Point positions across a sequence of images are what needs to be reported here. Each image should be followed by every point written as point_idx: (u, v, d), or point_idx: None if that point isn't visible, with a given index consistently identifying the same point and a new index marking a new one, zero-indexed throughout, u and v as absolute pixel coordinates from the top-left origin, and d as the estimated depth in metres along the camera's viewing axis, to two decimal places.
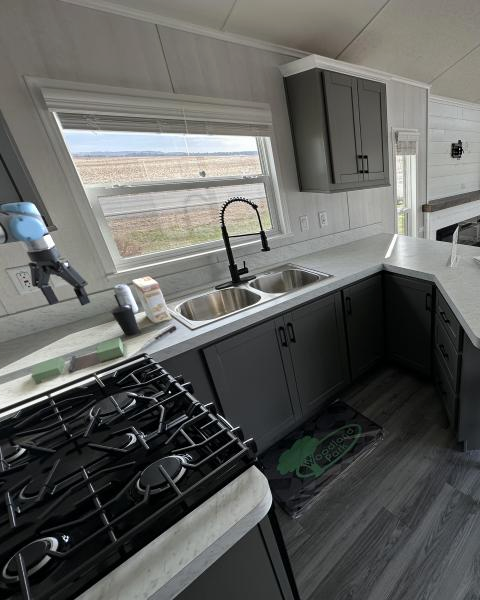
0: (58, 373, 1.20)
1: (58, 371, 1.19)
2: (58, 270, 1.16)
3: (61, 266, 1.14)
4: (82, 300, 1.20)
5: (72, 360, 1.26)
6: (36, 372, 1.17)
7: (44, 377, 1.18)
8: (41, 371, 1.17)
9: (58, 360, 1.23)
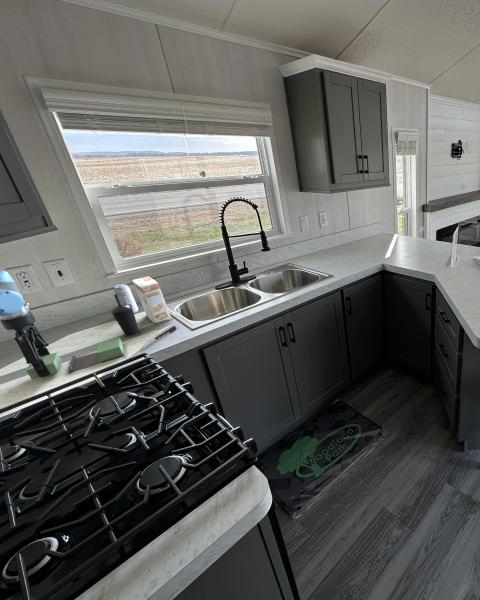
0: (54, 368, 1.18)
1: (54, 366, 1.18)
2: None
3: None
4: (39, 372, 1.16)
5: (72, 360, 1.26)
6: (31, 367, 1.15)
7: None
8: None
9: (54, 355, 1.22)
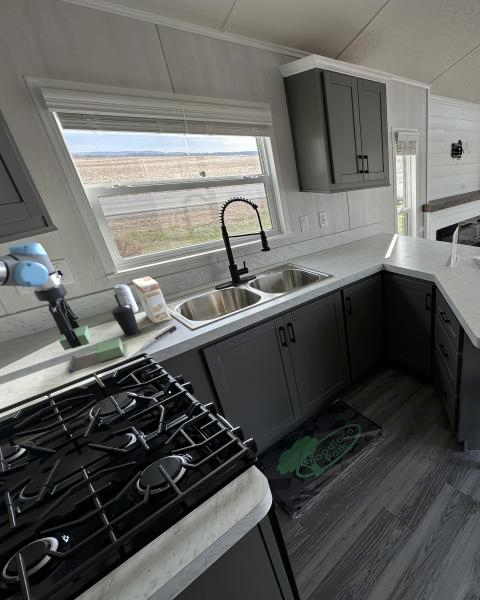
0: (85, 340, 1.21)
1: (85, 338, 1.21)
2: None
3: None
4: (71, 344, 1.19)
5: (72, 360, 1.26)
6: (63, 338, 1.18)
7: None
8: None
9: (84, 328, 1.25)
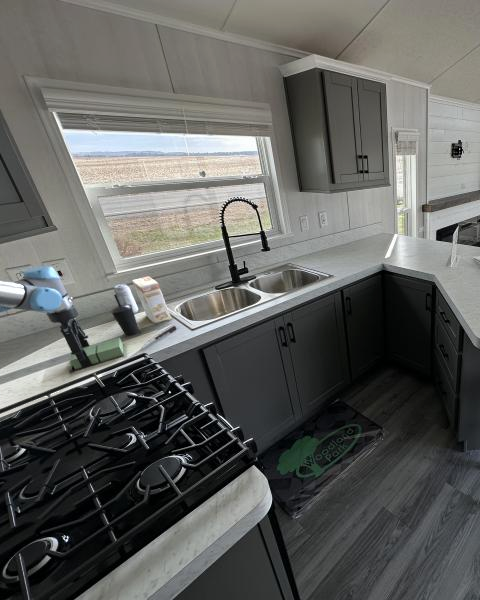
0: (95, 359, 1.25)
1: (95, 357, 1.25)
2: None
3: None
4: (82, 363, 1.22)
5: None
6: (74, 358, 1.22)
7: None
8: None
9: (94, 347, 1.29)
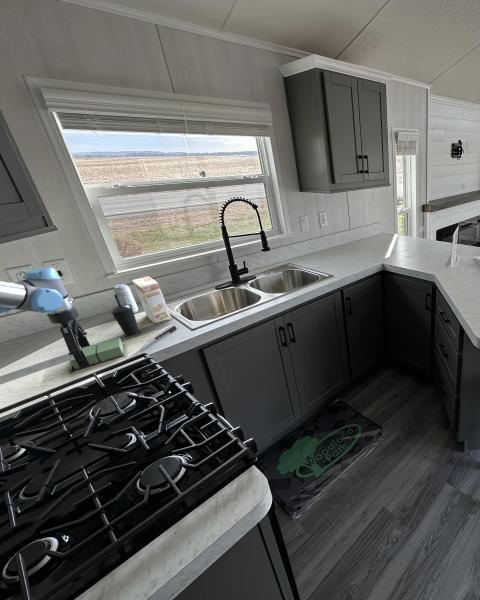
0: (95, 359, 1.25)
1: (95, 357, 1.25)
2: None
3: None
4: (79, 363, 1.20)
5: None
6: (74, 358, 1.22)
7: None
8: None
9: (94, 347, 1.29)
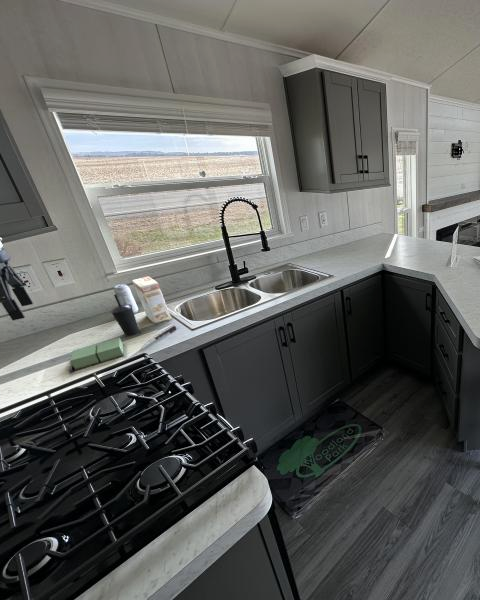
0: (95, 359, 1.25)
1: (95, 357, 1.25)
2: None
3: None
4: (11, 315, 1.04)
5: None
6: (74, 358, 1.22)
7: (82, 362, 1.23)
8: (79, 357, 1.23)
9: (94, 347, 1.29)
